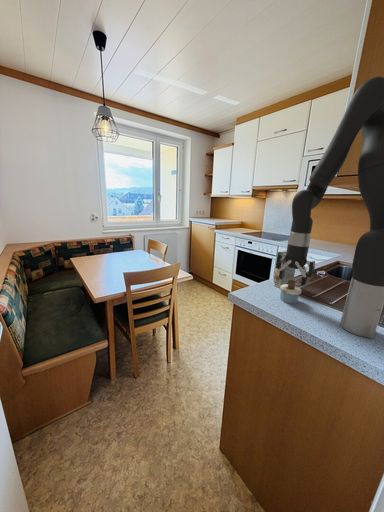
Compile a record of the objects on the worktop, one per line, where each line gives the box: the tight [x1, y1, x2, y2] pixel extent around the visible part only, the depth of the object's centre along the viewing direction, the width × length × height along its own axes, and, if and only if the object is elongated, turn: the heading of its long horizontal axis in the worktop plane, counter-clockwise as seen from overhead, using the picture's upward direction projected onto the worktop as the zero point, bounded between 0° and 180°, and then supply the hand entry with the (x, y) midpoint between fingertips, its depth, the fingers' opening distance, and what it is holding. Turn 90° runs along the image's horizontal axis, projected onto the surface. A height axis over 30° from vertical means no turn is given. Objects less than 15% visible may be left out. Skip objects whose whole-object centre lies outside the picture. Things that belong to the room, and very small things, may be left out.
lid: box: [279, 279, 302, 295], centre depth 88 cm, size 8×8×4 cm
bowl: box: [279, 290, 300, 305], centre depth 89 cm, size 7×7×4 cm
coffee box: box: [273, 251, 296, 289], centre depth 103 cm, size 9×6×16 cm
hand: (291, 282), depth 87 cm, fingers open, 8 cm apart
